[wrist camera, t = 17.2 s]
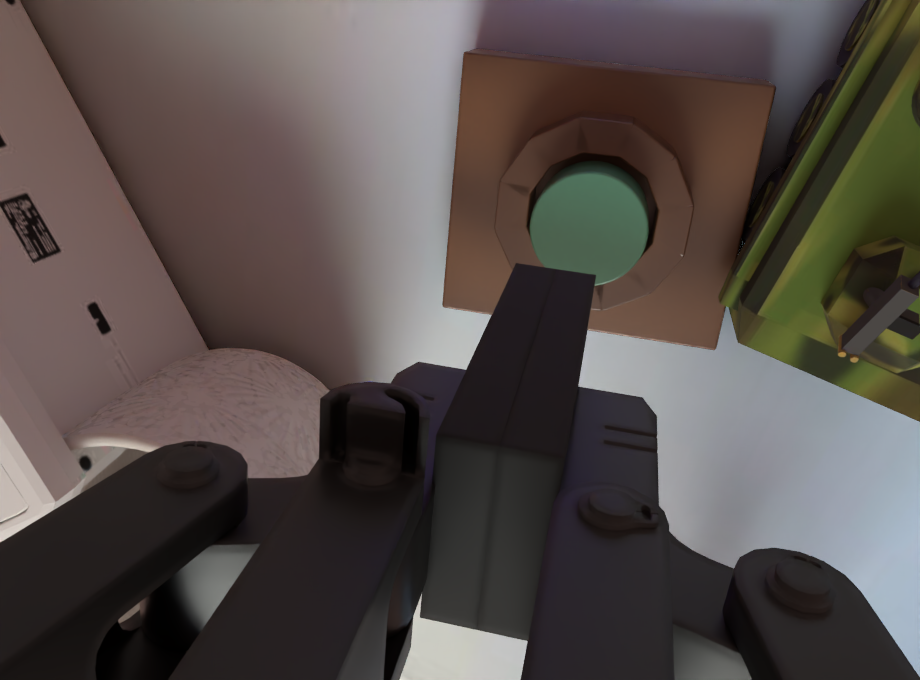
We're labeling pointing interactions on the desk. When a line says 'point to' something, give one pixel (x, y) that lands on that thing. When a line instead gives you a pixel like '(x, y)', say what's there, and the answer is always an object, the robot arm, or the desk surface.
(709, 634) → the robot arm
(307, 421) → the planter
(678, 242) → the button panel
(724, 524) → the desk surface
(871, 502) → the desk surface
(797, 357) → the toy vehicle
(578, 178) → the flush button
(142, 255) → the radio
